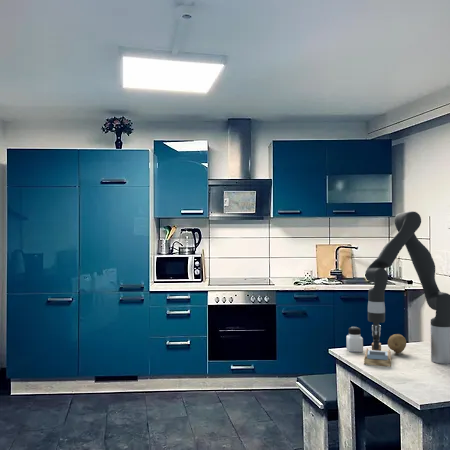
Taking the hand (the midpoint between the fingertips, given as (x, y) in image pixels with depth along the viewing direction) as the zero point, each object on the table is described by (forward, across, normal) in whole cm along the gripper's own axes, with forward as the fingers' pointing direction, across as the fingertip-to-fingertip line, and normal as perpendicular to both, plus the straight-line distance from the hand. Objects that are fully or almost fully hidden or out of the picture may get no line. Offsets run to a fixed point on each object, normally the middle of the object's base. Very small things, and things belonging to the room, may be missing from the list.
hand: (376, 349), depth 222 cm
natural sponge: (+9, +32, -9) cm, 34 cm away
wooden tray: (+9, +15, 0) cm, 17 cm away
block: (+9, +32, +1) cm, 33 cm away
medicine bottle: (+9, +32, +12) cm, 36 cm away
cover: (+6, +10, 0) cm, 12 cm away
